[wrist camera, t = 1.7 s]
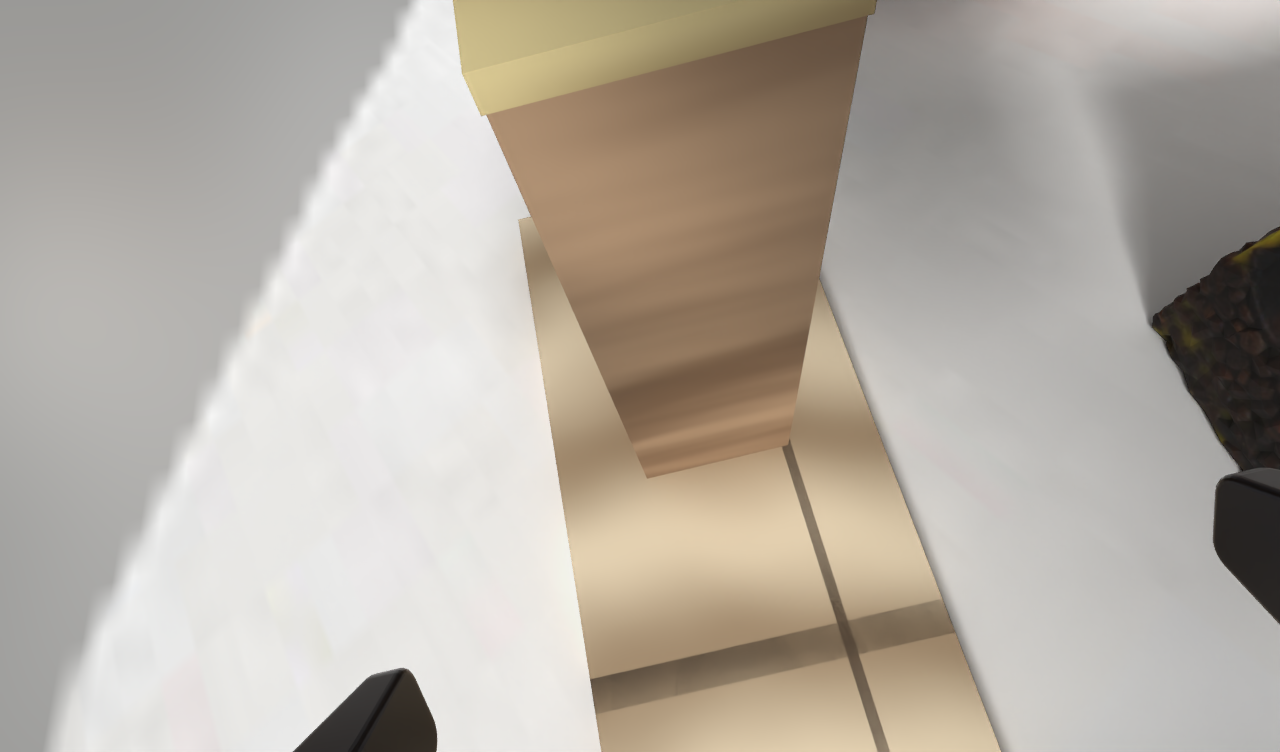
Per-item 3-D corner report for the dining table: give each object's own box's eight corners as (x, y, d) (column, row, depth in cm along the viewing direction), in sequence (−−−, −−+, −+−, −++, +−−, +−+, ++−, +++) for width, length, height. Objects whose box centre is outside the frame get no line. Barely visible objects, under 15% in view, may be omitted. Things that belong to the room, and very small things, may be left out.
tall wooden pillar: (790, 446, 21) (884, -37, 7) (645, 480, 21) (462, 73, 7) (750, 320, 23) (763, -249, 9) (618, 353, 23) (433, -157, 9)
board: (1013, 821, 18) (1031, 829, 16) (634, 903, 18) (627, 917, 17) (770, 176, 27) (771, 155, 26) (527, 238, 27) (518, 219, 26)
